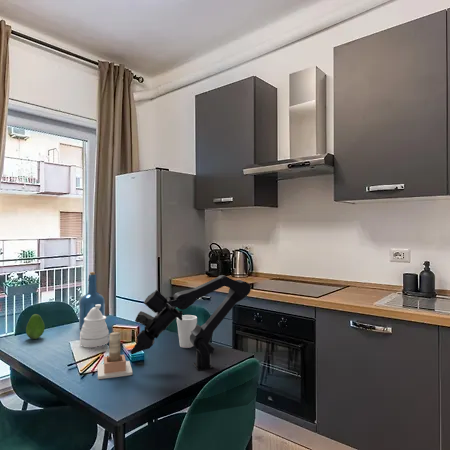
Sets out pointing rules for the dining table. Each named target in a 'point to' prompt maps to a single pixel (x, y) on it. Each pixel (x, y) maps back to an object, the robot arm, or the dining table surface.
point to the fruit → (35, 327)
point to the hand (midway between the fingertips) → (134, 349)
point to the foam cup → (186, 329)
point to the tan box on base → (114, 368)
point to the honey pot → (94, 329)
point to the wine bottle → (90, 300)
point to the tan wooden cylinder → (114, 347)
